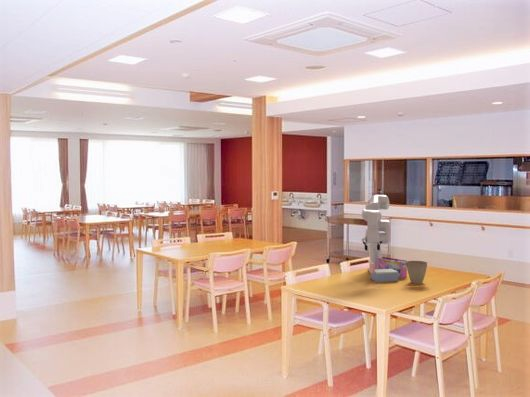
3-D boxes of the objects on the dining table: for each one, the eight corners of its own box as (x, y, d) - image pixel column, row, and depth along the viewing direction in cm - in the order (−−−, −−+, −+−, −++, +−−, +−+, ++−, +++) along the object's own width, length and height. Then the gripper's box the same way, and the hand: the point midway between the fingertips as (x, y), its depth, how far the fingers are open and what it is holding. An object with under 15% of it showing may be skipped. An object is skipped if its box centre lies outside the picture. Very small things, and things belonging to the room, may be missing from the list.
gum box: (375, 274, 406) (376, 257, 406) (381, 273, 411) (382, 256, 411) (401, 279, 388) (401, 261, 387) (407, 277, 393) (407, 260, 392)
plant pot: (428, 282, 375) (429, 261, 375) (424, 286, 362) (425, 264, 361) (408, 280, 382) (408, 259, 382) (403, 284, 369) (404, 262, 368)
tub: (370, 280, 384) (370, 270, 384) (391, 279, 388) (391, 270, 388) (376, 283, 374) (377, 273, 373) (397, 282, 377) (398, 272, 377)
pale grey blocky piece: (367, 272, 383) (367, 262, 383) (391, 271, 388) (391, 261, 387) (373, 275, 373) (374, 264, 372) (398, 273, 377) (398, 263, 377)
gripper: (381, 226, 382) (380, 249, 383) (359, 227, 378) (359, 249, 379) (385, 227, 375) (385, 250, 375) (363, 228, 371) (363, 251, 372)
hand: (372, 250), depth 377 cm, fingers open, 9 cm apart
